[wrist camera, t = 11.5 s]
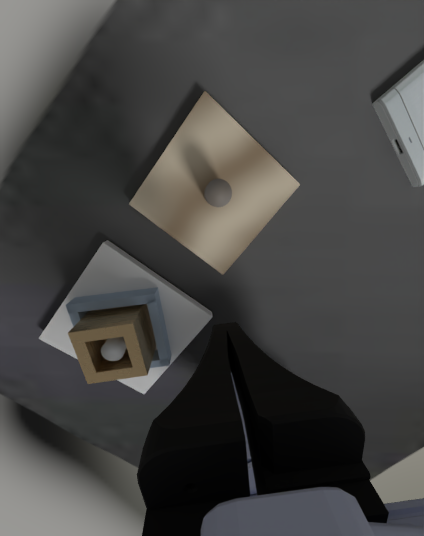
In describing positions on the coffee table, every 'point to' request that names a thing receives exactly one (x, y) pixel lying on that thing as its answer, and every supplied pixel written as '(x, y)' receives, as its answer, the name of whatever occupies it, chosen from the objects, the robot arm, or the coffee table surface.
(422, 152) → the hard drive
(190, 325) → the white peg base
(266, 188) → the stand
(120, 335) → the tan square ring block
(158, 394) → the coffee table surface
